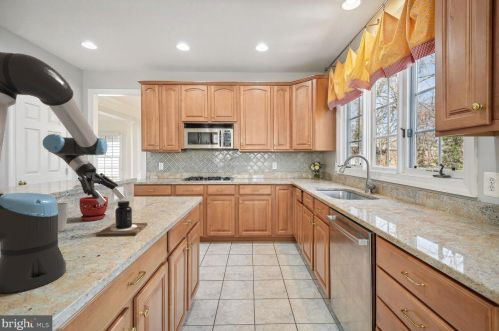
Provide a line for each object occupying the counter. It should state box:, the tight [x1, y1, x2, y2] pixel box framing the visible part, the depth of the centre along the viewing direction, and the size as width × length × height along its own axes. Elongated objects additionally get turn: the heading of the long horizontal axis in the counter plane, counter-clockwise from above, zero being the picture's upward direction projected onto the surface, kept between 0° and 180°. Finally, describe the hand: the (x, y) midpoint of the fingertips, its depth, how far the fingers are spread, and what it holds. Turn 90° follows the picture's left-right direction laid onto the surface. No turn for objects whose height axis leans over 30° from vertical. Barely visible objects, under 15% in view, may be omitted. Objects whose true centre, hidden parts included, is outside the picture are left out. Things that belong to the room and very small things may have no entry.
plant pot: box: [78, 195, 109, 222], centre depth 131 cm, size 13×13×12 cm
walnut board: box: [95, 222, 148, 237], centre depth 110 cm, size 16×16×2 cm
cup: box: [57, 202, 69, 232], centre depth 111 cm, size 8×8×12 cm
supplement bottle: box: [114, 200, 133, 229], centre depth 110 cm, size 7×7×12 cm
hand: (113, 200), depth 111 cm, fingers open, 13 cm apart
